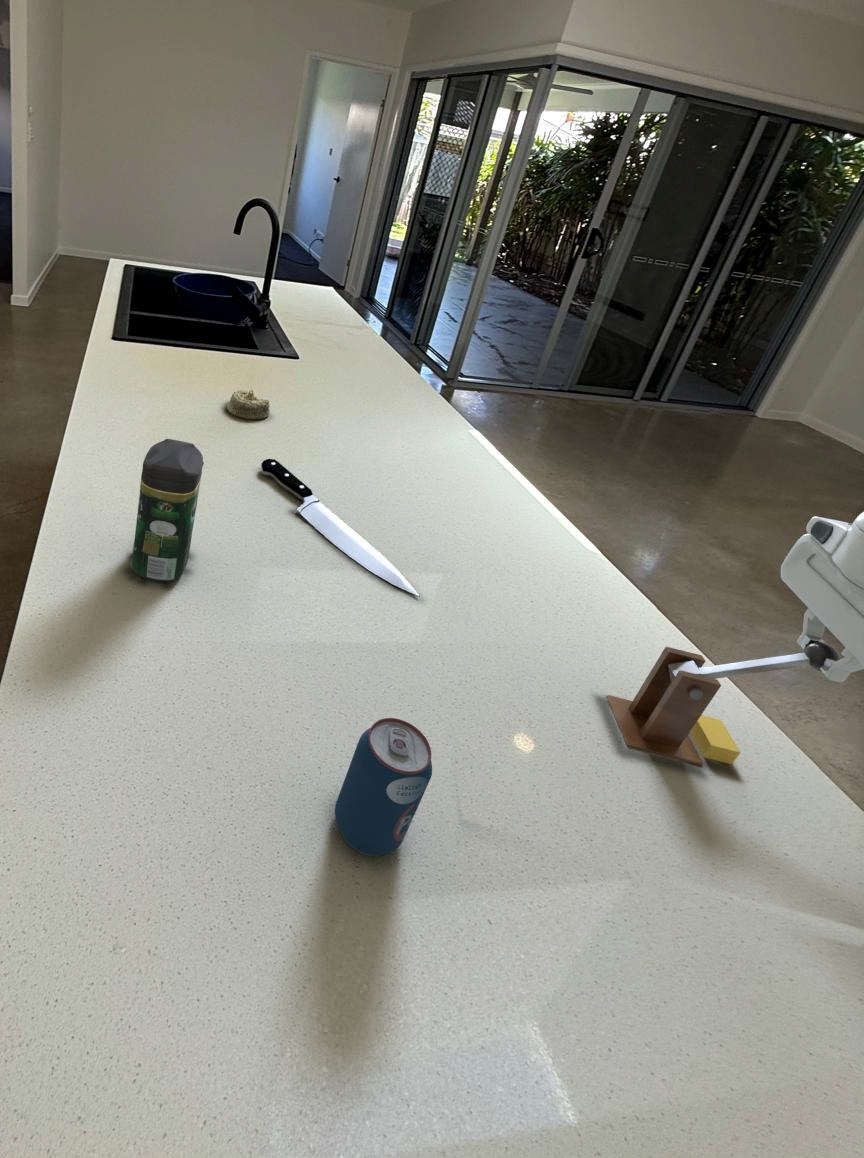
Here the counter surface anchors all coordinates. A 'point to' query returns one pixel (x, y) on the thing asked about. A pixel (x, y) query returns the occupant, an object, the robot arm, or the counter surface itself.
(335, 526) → the chef knife
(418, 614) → the counter surface
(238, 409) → the cake
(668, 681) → the stand
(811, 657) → the grey metal rod
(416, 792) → the soda can
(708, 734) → the butter
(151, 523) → the coffee jar
